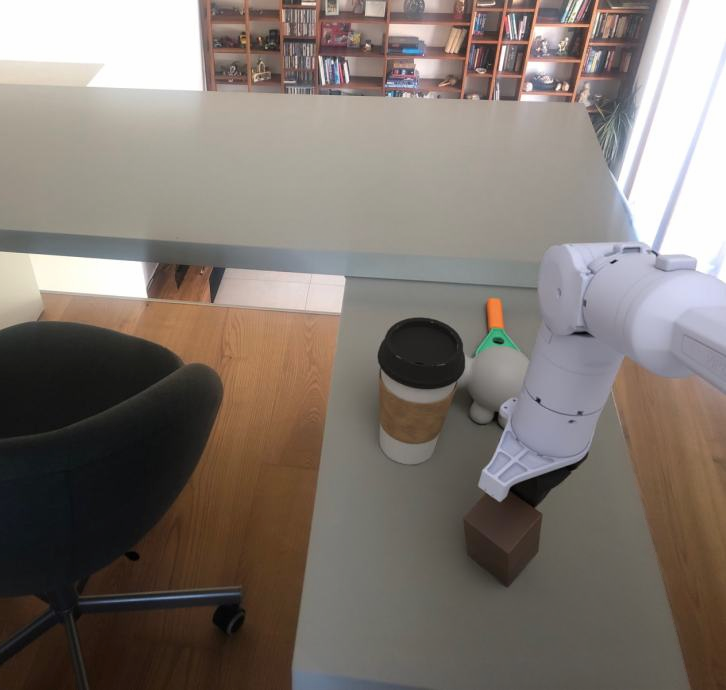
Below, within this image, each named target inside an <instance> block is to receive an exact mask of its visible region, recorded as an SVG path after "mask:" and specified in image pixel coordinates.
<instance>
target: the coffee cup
mask: <svg viewBox="0 0 726 690" xmlns="http://www.w3.org/2000/svg"><path fill="white" fill-rule="evenodd" d="M464 354H465V351H464V343H463V340H462V337H461V336H460V334H459V333H458V331H456V330H455V328H453V327H451V326H450V325H449V324H447V323H445V322H443V321H441V320H439V319H434V318H430V317H421V316H420V317H419V316H418V317H408V318H404V319H402V320H399V321H397V322H396V323H394V324H392V325H391V326H390V327H389V329H388V330H387V331H386V334H385V336H384V339H383V340H382V341H381V343H380V345H379V348H378V351H377V357H376V358H377V363H378V365H379V371H378V397H379V398H378V399H379V401H378V403H379V405H378V406H379V446H380V449H381V450H382V452H383V453H384V454H385V456H386V457H388V458H389V459H390V460H392V461H393V462H396V463H399V464H402V465H409V466H411V465H419V464H422V463H424V462H426V461H427V460H429V459H430V458H431V457H432V455H433V454H434V452H435V449H436V446H437V443H438V439H439V437H440V434H441V432H442V429H443V426H444V424H445V421H446V418H447V415H448V413H449V410H450V406H451V405H452V401H453V399H454V396H455V393H456V390H457V389H456V388H457V384H458V379H459V378H460V377H461V376H462V374H463V373H464V369H465V355H466V354H465V355H464Z"/></svg>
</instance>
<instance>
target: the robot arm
mask: <svg viewBox="0 0 726 690" xmlns="http://www.w3.org/2000/svg"><path fill="white" fill-rule="evenodd" d="M697 265H698V258H696V257H694V256H691V255H687V254H683V253H681V254H679V253H678V254H677V253H675V254H661V253H660V252H659V251H658V250H657V249H654V248H651V246H649V245H648V243H646V242H644V241H636V240H635V241H609V242H607V241H606V242H605V241H604V242H578V243H562V244H560V245H552V246H550V247H548V249H547V250H546V251H545V253H544V254H543V257H542V259H541V261H540V264H539V269H538V274H537V286H536V289H537V291H536V293H537V303H538V308H539V312H540V316H541V318H542V319H541V321H540V325H539V329H538V331H537V335H536V338H535V342H534V345H533V348H532V351H531V354H530V358H529V364H528V367H527V371H526V374H525V377H524V381H523V384H522V388H521V391H520V394H519V397H518V398H510V399H509V400H507V401H506V402H505V403H504V404H502V405H501V407H500V411H499V412H498V414H499V413H500V415H501V416H502V417H504V418H505V419H506V420H507V424H506V427H505V428H503V432H502V434H501V437H500V438H499V439H498V442H497V445H496V448H495V451H494V454H493V456H492V458H491V459H490V461H489V463H488V464H487V465H486V466H485V467H484V468H483V469H482V470H481V473H480V476H479V480H478V483H477V487H478V488H479V489H481V490H482V491H484V492H485V493H487V494H489V495H490V496H491V497H493V498H495V499H496V500H497V501H499V502H501V501H502V500H503V499H504V498H505V497H506V496H507V494H508V491H509V490H510V491H511V492H512V493H514V494H515V495H517V496H518V497H519V498H521V499H522V500H524V501H525V502H526V503H528V504H529V505H531V506H532V507H534V508H535V509H536V507H538V506H539V505H540V504H541V503H542V502H543V501H544V499H545V498H547V497H548V495H549V493H550V492H551V491H552V490H553V489H554V488H556V487H558V486H559V485H561V484H562V483H564V481H565V480H566V479H568V477H569V476H570V475H571V474H572V473H573V471H575V470H577V469H578V468H579V467H580V466H581V465H582V464H583V463H584V462H585V461H586V460H587V459H588V457H589V453H590V452H589V449H590V447H591V445H592V441H593V438H594V434H595V431H596V427H597V424H598V421H599V418H600V416H601V414H602V411H603V409H604V408H605V406H606V403H607V401H608V399H609V396H610V393H611V390H612V388H613V385H614V383H615V381H616V379H617V376H618V374H619V371H620V369H621V366H622V364H623V361H624V359H625V357H626V358H628V359H629V360H631V361H632V362H634V363H635V364H637V365H638V366H640V367H642V368H643V369H645V370H646V371H648V372H650V373H652V374H654V375H656V376H659V377H662V378H667V379H685V378H691V377H694V376H698V377H699V378H701V379H702V380H704V381H705V382H707V383H708V384H709V385H711V386H712V387H713V388H715V389H716V390H717V391H719V392H720V393H722V394H723V395H725V396H726V282H725V281H723V280H722V279H720V278H718V277H716V276H714V275H712V274H709V273H705V272H702V271H699V270H697Z"/></svg>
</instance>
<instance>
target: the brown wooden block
mask: <svg viewBox="0 0 726 690" xmlns="http://www.w3.org/2000/svg"><path fill="white" fill-rule="evenodd" d="M462 522H463V531H464V537H465V545H466V546H465V547H466V555H467V556H468V557H469V558H471V559H472V560H473V561H474V562H475V563H477V564H478V565H479V566H481V567H482V568H483V569H484V570H485V571H487V572H488V573H489V574H490V575H492V576H493V577H494V578H495V579H496V580H498V581H499V582H500V583H501V584H503V585H504V586H505V587H506V588H509V587H510V586H511V585H512V584H513V583H514V581H516V579H517V578H518V577H519V575H520V574H521V573H522V572H523V571H524V569H526V567H527V566H528V565H529V563H531V562H532V560H533V559H534V558H535V556H536V555H537V554H538V553H539V549H540V539H541V531H542V522H543V512H541V511H539V510H538V509H537V508H536V507H535V508H534V507H532V506H531V505H529V504H528V503H526V502H525V501H524V500H522V499H521V498H519V497H518V496H517V495H515V494H514V493H512V492H511V491H510V490H509V491H508V494H507V496H506V497H505V498H504V499H503V500H502V501H501V502H499V501H497V500H496V499H495V498H493V497H491V496H490V495H489V494H487V493H486V492H485V493H484V494H483V496H482V497H481V498H480V499H478V501H477V502H476V503H475V504H474V506H473V507H472V508H471V509H470V510H469V511H468V512H467V513H466V515H465V516H464V517H463V518H462Z"/></svg>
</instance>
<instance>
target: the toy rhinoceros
mask: <svg viewBox="0 0 726 690" xmlns="http://www.w3.org/2000/svg"><path fill="white" fill-rule="evenodd" d="M521 352H522V351H521ZM521 352H519V351H518V350H516V349H513V348H510V347H506V346H495V347H490V348H487V349H485V350H483V351H481V352H480V353H479V354H477V355H476V356H475V355H474V356H475V357H474V356H473V357H470V356H468V355H467V354H466V353H464V355H465V369H464V373H463V374H462V376H461V377H460V378H459V379H458V384H457V388H456V390H461V389H466V391H468V392H469V395H470V396H471V398H472V399H473V402H472V403H471V407H470V409H469V416H470V418H471V420H472V421H473V422H475V423H477V424H479V425H485V424H489V423H491V422H492V420H493V419H494V417H495V412H498V415H497V422H498V424H499V425H500V427H501V428H503V429H505V427H506V424H507V420H506V419H505V418H504V417H502V416H501V415H500V413H499V411H500V407H501V405H502V404H504V403H505V402H506V401H507V400H509V399H510V398H518V397H519V394H520V391H521V388H522V384H523V381H524V377H525V374H526V371H527V367H528V364H529V361H530V359H529V358H528V357H527V356H526V355H525V354H524V353H523V352H522V353H523V354H522V353H521Z"/></svg>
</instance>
